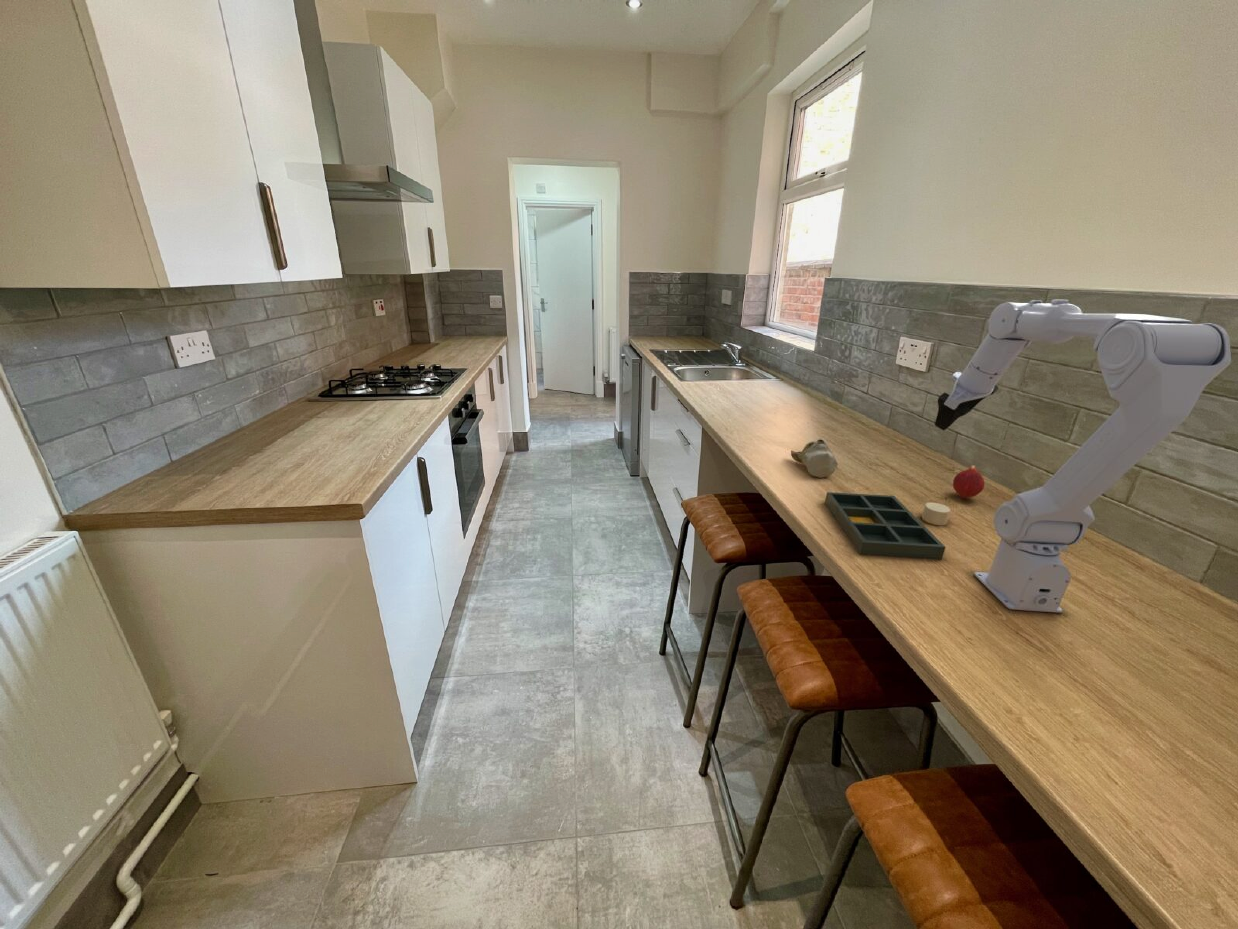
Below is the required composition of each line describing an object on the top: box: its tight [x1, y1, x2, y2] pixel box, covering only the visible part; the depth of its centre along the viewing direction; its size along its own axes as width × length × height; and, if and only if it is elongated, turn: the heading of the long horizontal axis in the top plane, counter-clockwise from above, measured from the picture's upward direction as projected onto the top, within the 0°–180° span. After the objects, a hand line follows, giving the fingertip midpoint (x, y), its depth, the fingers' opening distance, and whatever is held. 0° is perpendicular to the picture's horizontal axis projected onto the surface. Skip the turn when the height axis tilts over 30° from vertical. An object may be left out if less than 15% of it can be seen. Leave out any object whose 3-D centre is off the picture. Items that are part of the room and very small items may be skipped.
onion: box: [952, 465, 985, 499], centre depth 111 cm, size 6×6×8 cm
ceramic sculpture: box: [790, 439, 839, 479], centre depth 125 cm, size 11×9×15 cm
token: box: [921, 502, 951, 526], centre depth 102 cm, size 4×4×3 cm
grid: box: [824, 491, 946, 560], centre depth 98 cm, size 21×14×3 cm
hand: (950, 419), depth 99 cm, fingers open, 7 cm apart
